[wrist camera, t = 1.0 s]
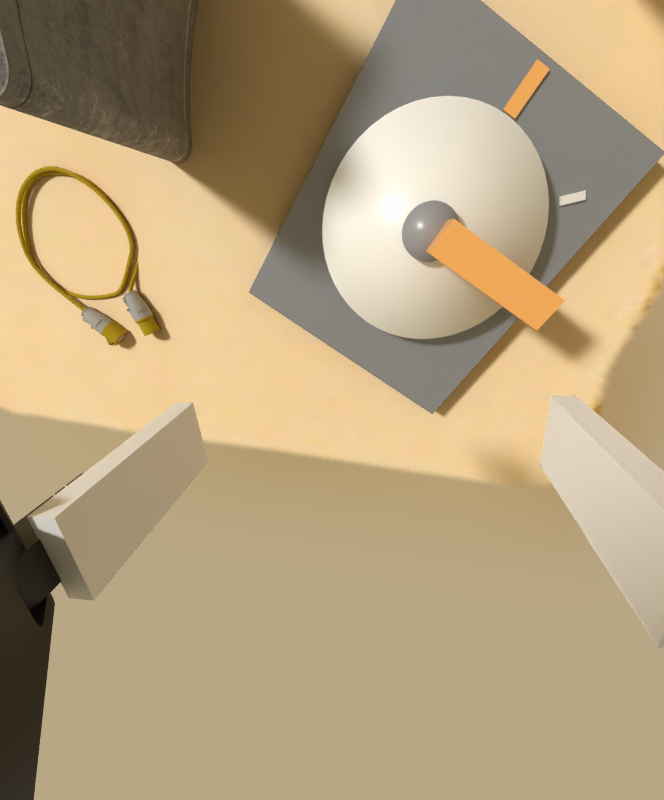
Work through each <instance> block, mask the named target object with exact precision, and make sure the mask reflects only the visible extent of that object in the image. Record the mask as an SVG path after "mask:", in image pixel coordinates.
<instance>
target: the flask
mask: <svg viewBox="0 0 664 800" xmlns="http://www.w3.org/2000/svg"><path fill="white" fill-rule="evenodd" d="M197 1H198V0H0V105H1V106H4V107H7V108H10V109H13V110H16V111H19V112H23V113H26V114H29V115H32V116H35V117H38V118H41V119H44V120H47V121H50V122H53V123H56V124H59V125H62V126H65V127H68V128H71V129H74V130H77V131H80V132H83V133H86V134H89V135H92V136H95V137H98V138H101V139H104V140H107V141H110V142H113V143H116V144H120V145H123V146H126V147H129V148H132V149H135V150H138V151H141V152H144V153H147V154H150V155H153V156H156V157H159V158H162V159H165V160H168V161H171V162H174V163H181V162H184V161H185V160H186V159H187V158H188V157H189V155H190V153H191V148H192V141H191V129H190V67H191V53H192V41H193V31H194V22H195V15H196V8H197Z"/></svg>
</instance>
